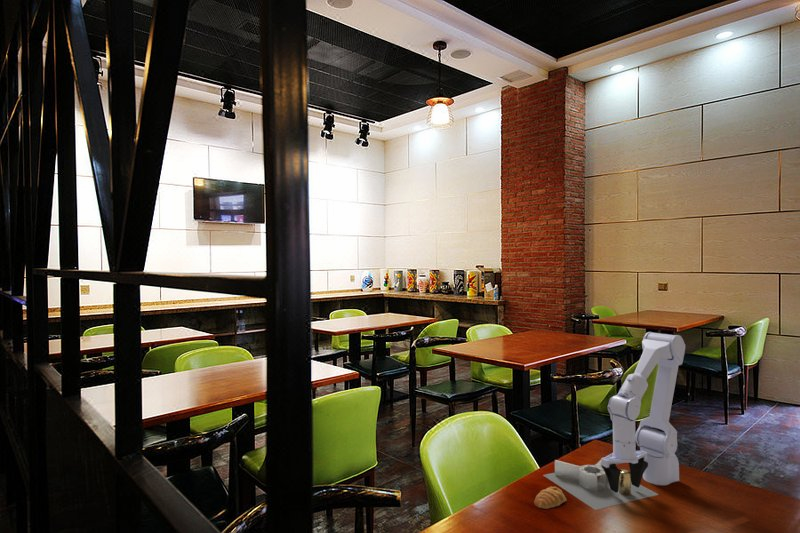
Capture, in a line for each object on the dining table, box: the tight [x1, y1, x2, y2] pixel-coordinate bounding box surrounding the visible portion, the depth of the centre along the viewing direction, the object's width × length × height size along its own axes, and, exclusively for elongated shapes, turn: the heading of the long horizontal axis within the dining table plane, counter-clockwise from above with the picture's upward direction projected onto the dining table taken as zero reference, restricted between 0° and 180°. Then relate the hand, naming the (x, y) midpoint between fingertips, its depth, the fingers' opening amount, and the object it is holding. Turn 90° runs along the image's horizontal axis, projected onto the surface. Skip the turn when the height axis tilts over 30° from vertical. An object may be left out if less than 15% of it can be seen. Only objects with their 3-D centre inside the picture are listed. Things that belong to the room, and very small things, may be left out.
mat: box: [542, 463, 659, 511], centre depth 138 cm, size 22×22×1 cm
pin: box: [619, 469, 631, 496], centre depth 132 cm, size 3×3×6 cm
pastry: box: [533, 486, 568, 510], centre depth 129 cm, size 9×7×4 cm
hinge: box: [554, 457, 606, 492], centre depth 141 cm, size 16×13×4 cm
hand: (624, 488), depth 132 cm, fingers open, 7 cm apart
